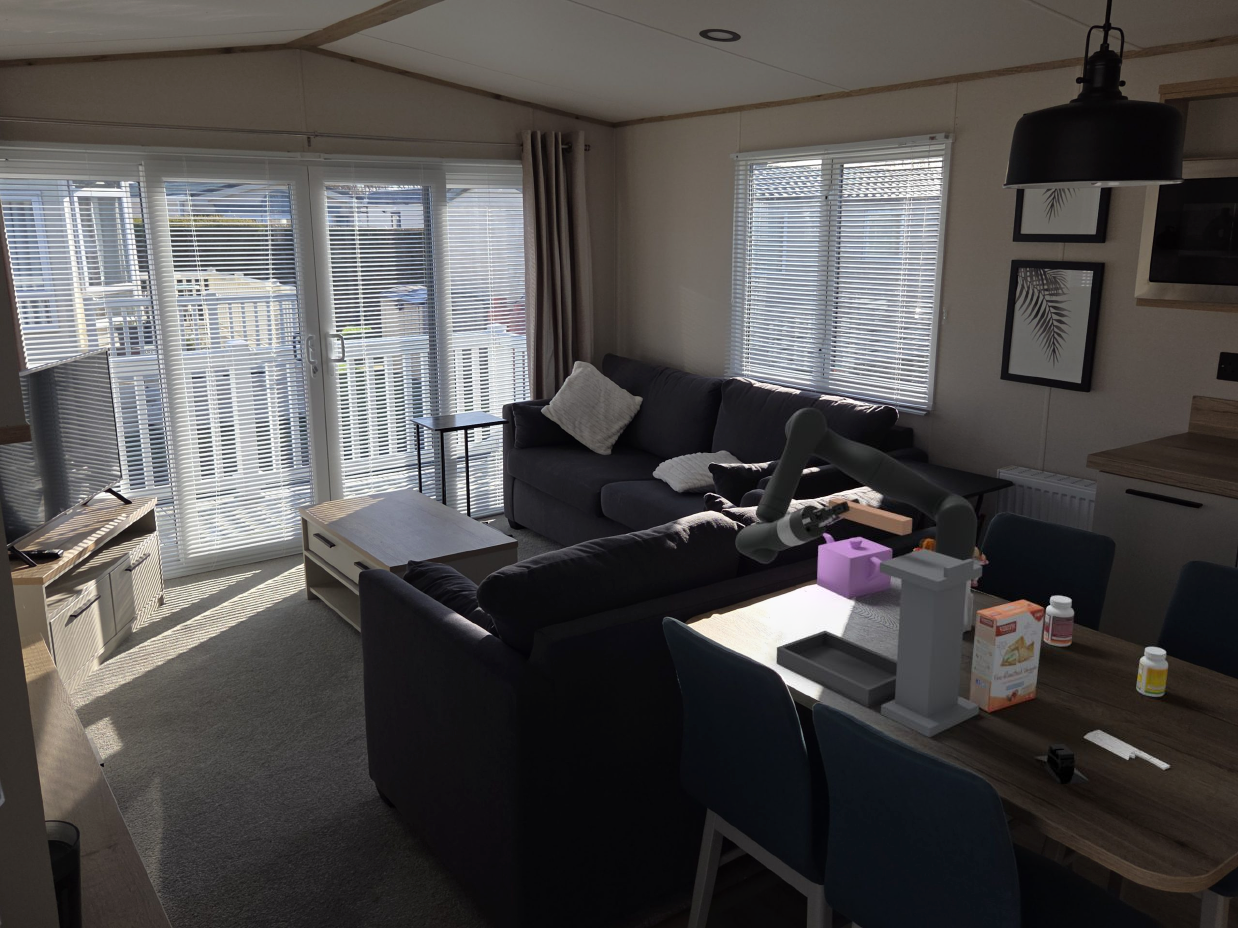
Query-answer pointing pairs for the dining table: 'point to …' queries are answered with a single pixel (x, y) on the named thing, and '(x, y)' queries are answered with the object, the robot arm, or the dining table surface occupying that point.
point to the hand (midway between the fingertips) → (852, 504)
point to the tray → (841, 667)
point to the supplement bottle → (1152, 672)
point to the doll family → (980, 560)
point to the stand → (930, 641)
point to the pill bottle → (1059, 621)
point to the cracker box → (1006, 655)
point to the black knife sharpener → (1061, 764)
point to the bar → (875, 517)
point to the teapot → (852, 566)
